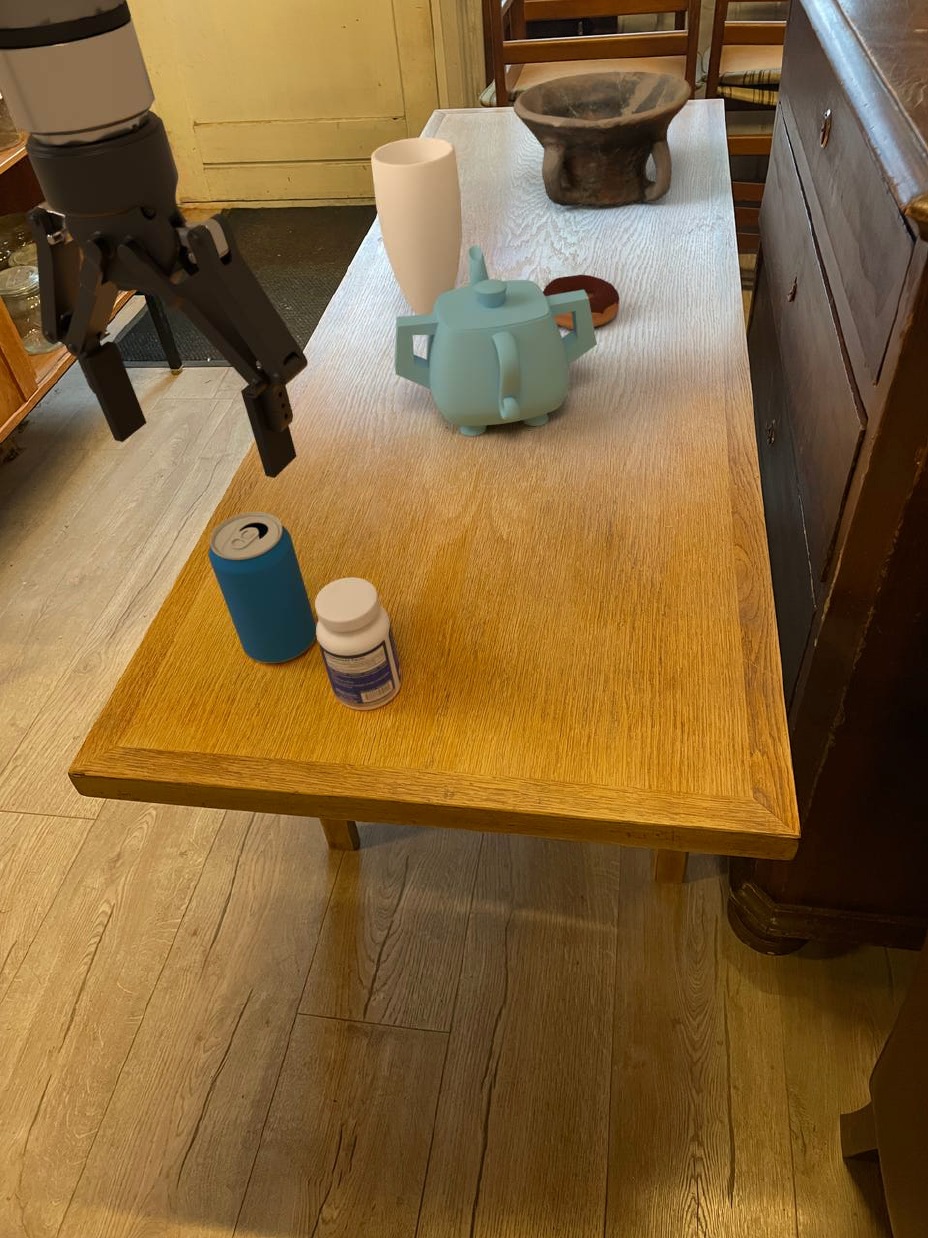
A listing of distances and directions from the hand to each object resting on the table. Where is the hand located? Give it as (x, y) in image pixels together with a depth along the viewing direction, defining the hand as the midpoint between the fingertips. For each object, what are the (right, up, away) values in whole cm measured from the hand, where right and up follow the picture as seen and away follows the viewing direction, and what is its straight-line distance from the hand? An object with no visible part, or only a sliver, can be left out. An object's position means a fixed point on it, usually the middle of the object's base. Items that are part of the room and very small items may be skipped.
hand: (203, 448), depth 64 cm
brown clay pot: (+41, +57, +81) cm, 106 cm away
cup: (+15, +25, +52) cm, 60 cm away
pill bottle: (+11, -18, +9) cm, 23 cm away
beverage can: (+3, -14, +13) cm, 20 cm away
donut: (+34, +27, +51) cm, 67 cm away
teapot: (+22, +13, +38) cm, 46 cm away
